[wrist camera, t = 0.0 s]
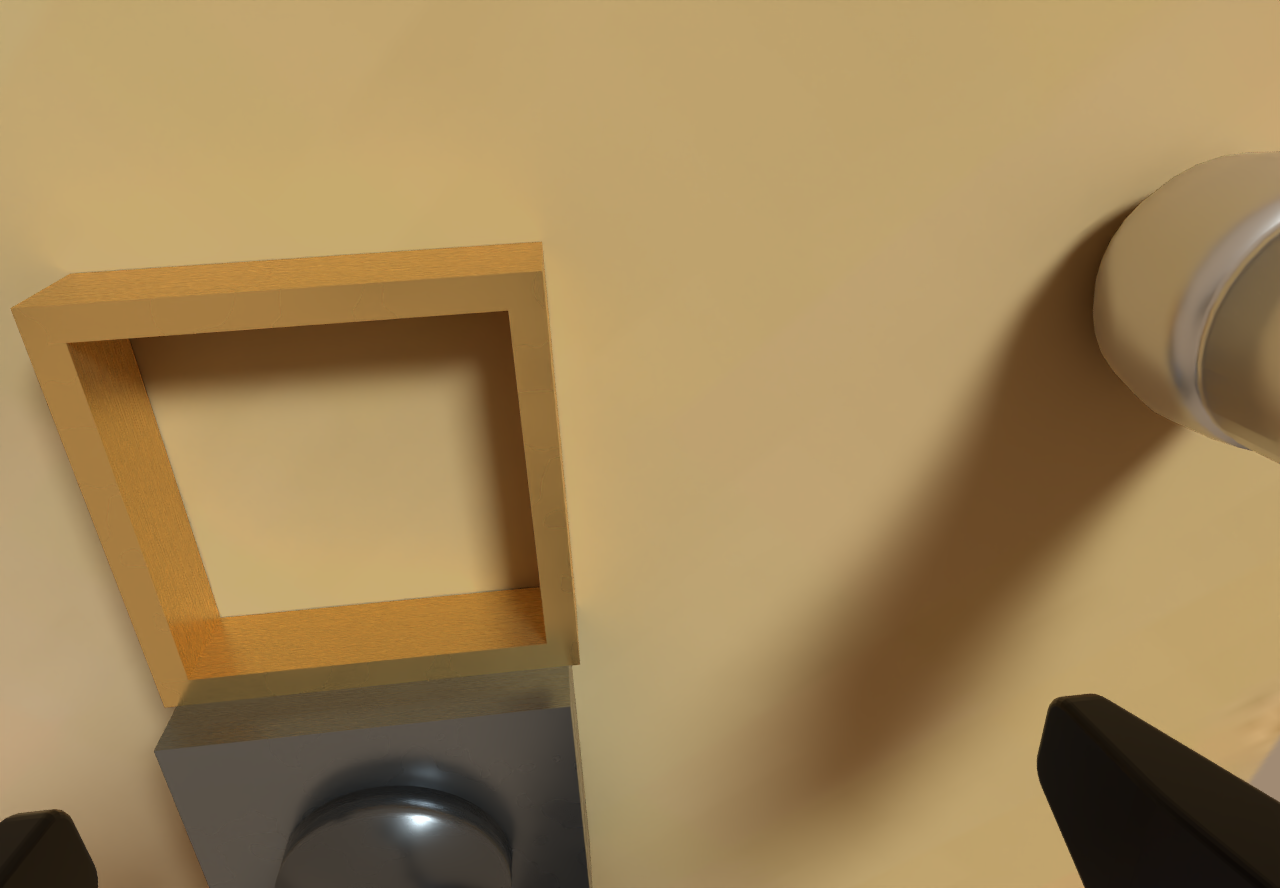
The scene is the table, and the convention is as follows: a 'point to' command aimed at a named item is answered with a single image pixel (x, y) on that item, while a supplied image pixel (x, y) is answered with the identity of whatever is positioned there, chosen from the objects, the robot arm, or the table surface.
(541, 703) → the two-tone flat frame block
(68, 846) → the robot arm
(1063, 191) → the table surface
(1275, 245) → the plastic bottle
